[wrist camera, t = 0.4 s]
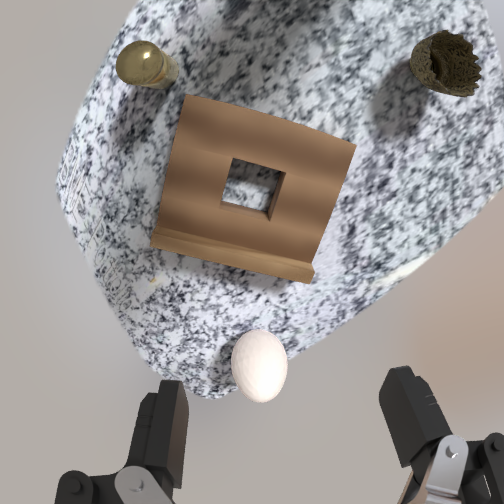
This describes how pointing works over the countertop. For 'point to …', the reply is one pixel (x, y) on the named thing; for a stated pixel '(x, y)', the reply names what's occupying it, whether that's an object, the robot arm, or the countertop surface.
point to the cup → (446, 64)
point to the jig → (239, 217)
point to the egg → (259, 365)
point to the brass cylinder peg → (146, 66)
